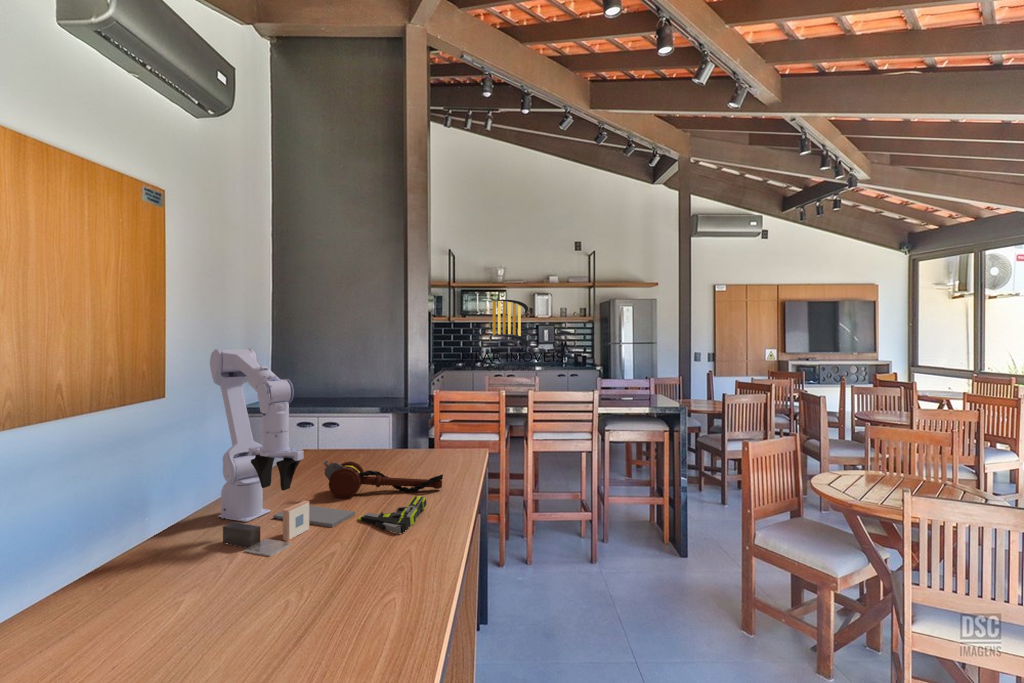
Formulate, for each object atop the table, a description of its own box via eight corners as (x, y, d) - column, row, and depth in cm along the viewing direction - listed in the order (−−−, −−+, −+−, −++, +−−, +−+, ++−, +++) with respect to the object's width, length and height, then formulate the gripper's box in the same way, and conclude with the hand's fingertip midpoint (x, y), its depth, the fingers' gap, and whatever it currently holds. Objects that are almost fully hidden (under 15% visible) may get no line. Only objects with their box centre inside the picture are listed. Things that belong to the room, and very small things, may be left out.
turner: (216, 547, 110) (216, 529, 110) (238, 536, 116) (238, 519, 116) (270, 556, 105) (270, 538, 105) (291, 545, 111) (291, 527, 111)
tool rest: (273, 518, 127) (273, 515, 127) (298, 506, 136) (298, 503, 136) (332, 527, 121) (332, 523, 121) (355, 514, 130) (355, 511, 130)
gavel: (440, 493, 156) (440, 504, 146) (326, 488, 151) (318, 498, 141) (443, 461, 156) (443, 469, 146) (329, 455, 151) (321, 463, 141)
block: (282, 540, 114) (282, 509, 114) (304, 529, 120) (304, 500, 120) (288, 541, 113) (288, 510, 113) (310, 530, 120) (310, 501, 120)
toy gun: (374, 493, 138) (427, 491, 136) (375, 508, 138) (428, 506, 137) (344, 524, 118) (406, 522, 117) (346, 541, 118) (408, 539, 117)
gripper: (237, 432, 117) (238, 489, 117) (288, 436, 112) (288, 496, 112) (261, 426, 123) (261, 481, 124) (309, 430, 119) (309, 487, 119)
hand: (275, 488), depth 118 cm, fingers open, 5 cm apart
